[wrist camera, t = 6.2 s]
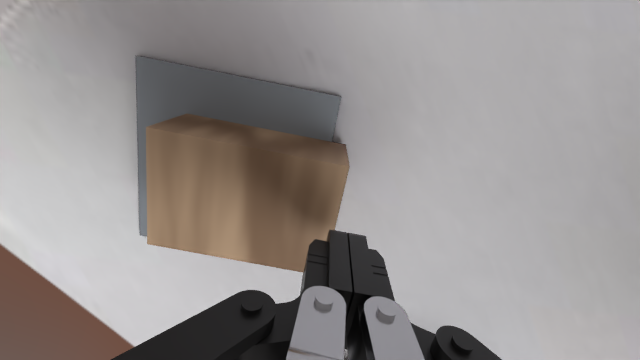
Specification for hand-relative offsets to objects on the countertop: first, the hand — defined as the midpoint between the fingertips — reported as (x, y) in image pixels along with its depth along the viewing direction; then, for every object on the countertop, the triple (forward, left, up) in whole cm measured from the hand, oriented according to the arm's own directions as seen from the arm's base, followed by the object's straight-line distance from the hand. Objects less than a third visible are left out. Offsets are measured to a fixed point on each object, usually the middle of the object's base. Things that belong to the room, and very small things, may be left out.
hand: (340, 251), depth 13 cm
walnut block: (0, 0, -4) cm, 4 cm away
